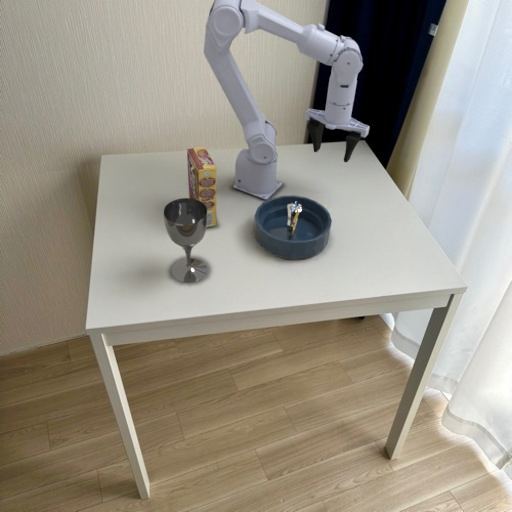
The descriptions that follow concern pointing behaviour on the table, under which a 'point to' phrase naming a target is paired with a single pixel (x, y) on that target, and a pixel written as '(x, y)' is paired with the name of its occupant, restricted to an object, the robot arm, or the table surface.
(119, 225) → the table surface
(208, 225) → the candy box
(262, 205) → the bowl
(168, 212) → the wine glass
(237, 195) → the table surface
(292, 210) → the ring
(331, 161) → the table surface
